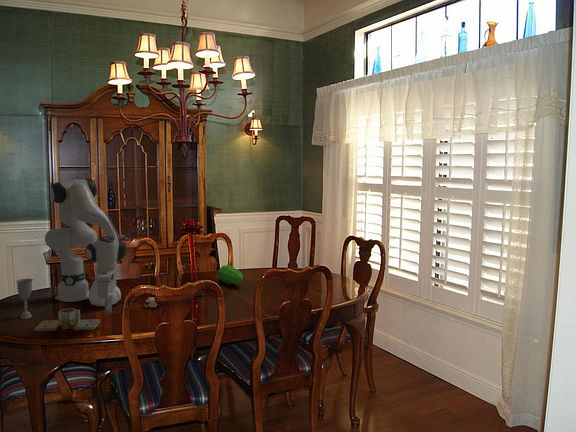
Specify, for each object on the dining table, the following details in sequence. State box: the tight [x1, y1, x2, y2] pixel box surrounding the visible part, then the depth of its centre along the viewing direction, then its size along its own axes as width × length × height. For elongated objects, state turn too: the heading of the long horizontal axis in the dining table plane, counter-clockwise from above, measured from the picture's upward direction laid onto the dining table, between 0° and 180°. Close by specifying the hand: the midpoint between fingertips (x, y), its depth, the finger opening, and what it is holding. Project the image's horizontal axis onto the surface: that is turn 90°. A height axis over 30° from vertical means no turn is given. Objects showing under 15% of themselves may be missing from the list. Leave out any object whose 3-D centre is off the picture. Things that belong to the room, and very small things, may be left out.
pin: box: [104, 292, 113, 314], centre depth 227 cm, size 3×3×10 cm
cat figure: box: [143, 297, 158, 309], centre depth 262 cm, size 10×9×25 cm
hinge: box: [33, 307, 101, 332], centre depth 226 cm, size 11×25×7 cm, turn 97°
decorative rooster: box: [88, 263, 122, 307], centre depth 262 cm, size 25×16×25 cm, turn 19°
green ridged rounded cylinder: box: [218, 264, 244, 285], centre depth 307 cm, size 11×12×30 cm
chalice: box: [15, 278, 34, 320], centre depth 238 cm, size 7×7×18 cm
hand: (108, 302), depth 227 cm, fingers closed on pin, 3 cm apart
